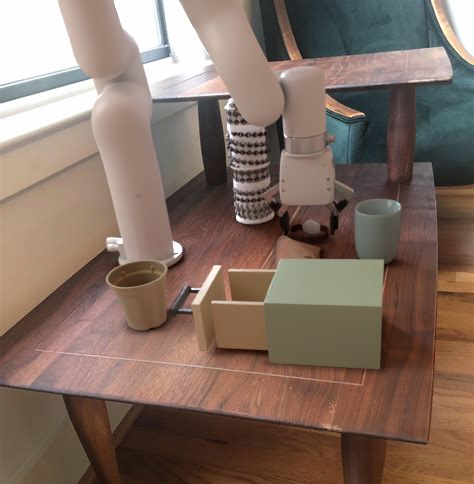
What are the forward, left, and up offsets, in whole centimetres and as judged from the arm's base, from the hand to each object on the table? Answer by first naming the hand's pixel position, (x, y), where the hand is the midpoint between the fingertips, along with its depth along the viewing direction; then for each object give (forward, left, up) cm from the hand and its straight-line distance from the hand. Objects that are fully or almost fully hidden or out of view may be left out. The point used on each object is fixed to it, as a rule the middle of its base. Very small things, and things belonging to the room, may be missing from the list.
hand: (309, 232), depth 106 cm
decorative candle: (-14, +12, -2) cm, 18 cm away
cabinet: (+7, -34, -1) cm, 35 cm away
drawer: (-6, -34, -1) cm, 35 cm away
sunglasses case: (0, -14, -2) cm, 14 cm away
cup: (+13, -9, -2) cm, 16 cm away
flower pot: (-22, -31, -2) cm, 38 cm away
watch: (0, 0, -2) cm, 2 cm away
